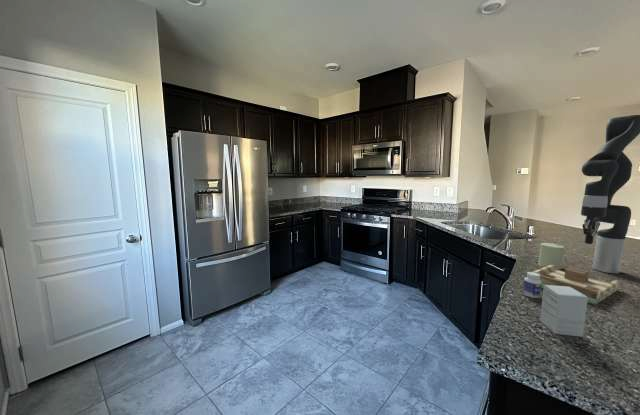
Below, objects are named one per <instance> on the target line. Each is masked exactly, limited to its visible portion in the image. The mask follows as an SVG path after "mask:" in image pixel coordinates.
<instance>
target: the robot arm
mask: <svg viewBox="0 0 640 415" xmlns="http://www.w3.org/2000/svg"><path fill="white" fill-rule="evenodd" d="M639 135H640V114H632V115H631V114H630V115H625V116H617V117H611V118H610V119H608V120H607V123H606V127H605V143H604V144H602V146H601V147H600V148H599V149H598V151H597V153H596V154H595V155H593V156H592V157H590V158H588V159H587V160H586V161H585V162H584V164H583V165H582V167H581V173H582V175H584V176H586V177H601V178H600V180H597V181H589V182H587V183H586V184H585V187H584V194H583V199H582V203H581V208H580V209H581V211H580V215H581V216H583V217H585V219H584V221H583V223H582V230H583V234H584V235H585V237H584V238H585V239H584V243H585V244H588V245H592V244H594V239H595V236H596V239H595V240H596V241H595V248H594V254H593V261H592V266H591V267H592V269H593V270H596V271H598V272H603V273H608V274H615V275H617V274H620V273H621V266H622V260H623V254H624V248H625V241H626V235H627V234H628V231H629V226H630V221H631V218H632V209H631V208H630V206H627V205H626V206H625V205H619V204H616V205H615V204H612V200H613V197H614V196H615V194H616V193H617V192H618V191H619V190H620V189H621V188H623V187H624V186H625V185H626V184H627V183H628V181H630V179H631V177H632V171H633V170H632V168H633V163H632V161H631V160H630V158H629V157H628V156H627V155H626V154H625V153H624V150H625V149H626V148H627V146H629V145H630V144H631V143H632V142H633V141H634V140H635V139H636V138H637V137H638V136H639ZM601 223H603V224H604V223H605V224H613V226H612V227H611V228H610V227H609V228H606V229H605V228H604V229H599V228H600V225H601Z"/></svg>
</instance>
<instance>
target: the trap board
mask: <svg viewBox="0 0 640 415" xmlns="http://www.w3.org/2000/svg"><path fill="white" fill-rule="evenodd" d="M527 272H529V271H526V272H525V278H526V277H527ZM532 272H534V273H537V274H540V279H539V280H540V281H541V289H544V285H553V286H567V287H571V288H573V289H575V290H577V291H578V292H580V293H582V294H584V295H585V296H587V297H588V302H587V304H588V303H589V304H592V305H597V304H599V303H600V302H602V301H603V300H605V299H607V298H608V297H610V296H611V295H612V294H614V293H615V292H617V291H618V290H619V286H620V285H619V284H620V280H616V279H614V280H612V281H611V282H606V281H602V280H598V279H595V278H590V277H588V281H586V282H584V283H581V282H577V281H574V280H570V279H566V278H564V276H565V271H563V270H561V269H555V265H549V266H546V267H541V268H539V269H535V270H533V271H532Z"/></svg>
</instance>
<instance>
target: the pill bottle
mask: <svg viewBox="0 0 640 415" xmlns="http://www.w3.org/2000/svg"><path fill="white" fill-rule="evenodd" d="M526 272H527V271H526ZM523 279H524V280H523V285H522V286H523V288H522V294H523V295H524V296H526V297H529V298H533V299H538V298H540V297H541V290H542V288H541V281H540V280H539V279H540V274H537V273H534V272H533V271H528V272H527V277H526V276H525V277H524V278H523Z"/></svg>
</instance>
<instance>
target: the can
mask: <svg viewBox="0 0 640 415" xmlns="http://www.w3.org/2000/svg"><path fill="white" fill-rule="evenodd" d="M539 248H540V250H539V256H538V263H537V265H538V266H540V267H541V268H544V267H546V266H549V265H555V269H556V270H562V269H563V268H562V266H563V265H562V263H563V256H564V249H565V246H564V245H561V244H557V243H552V242H551V243H550V242H542V243H540V247H539Z"/></svg>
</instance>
